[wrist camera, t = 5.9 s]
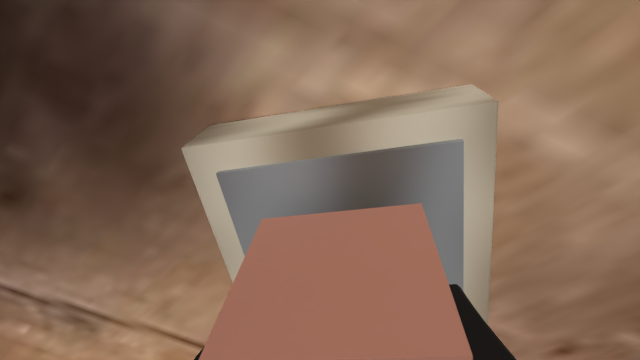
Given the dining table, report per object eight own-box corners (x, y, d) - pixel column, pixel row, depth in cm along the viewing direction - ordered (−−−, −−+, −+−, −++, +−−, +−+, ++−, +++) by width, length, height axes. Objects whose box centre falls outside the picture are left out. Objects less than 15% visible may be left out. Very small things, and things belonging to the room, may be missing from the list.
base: (471, 84, 12) (501, 102, 10) (469, 293, 16) (488, 343, 14) (209, 125, 14) (178, 150, 11) (269, 306, 18) (256, 352, 15)
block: (421, 203, 10) (472, 356, 6) (427, 321, 12) (467, 499, 8) (261, 218, 11) (196, 363, 6) (293, 327, 13) (261, 491, 9)
